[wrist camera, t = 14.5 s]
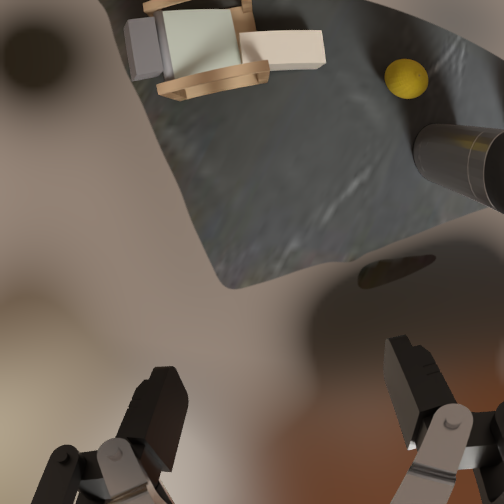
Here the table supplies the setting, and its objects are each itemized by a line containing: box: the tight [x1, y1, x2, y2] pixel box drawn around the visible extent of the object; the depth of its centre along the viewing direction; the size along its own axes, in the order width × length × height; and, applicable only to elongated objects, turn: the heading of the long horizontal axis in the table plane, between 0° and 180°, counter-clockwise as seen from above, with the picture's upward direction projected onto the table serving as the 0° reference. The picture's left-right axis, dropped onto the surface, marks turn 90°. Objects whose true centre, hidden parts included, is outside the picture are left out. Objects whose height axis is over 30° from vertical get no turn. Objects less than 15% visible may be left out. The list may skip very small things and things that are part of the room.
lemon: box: [385, 59, 428, 99], centre depth 34 cm, size 6×6×8 cm
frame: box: [143, 0, 270, 101], centre depth 32 cm, size 12×12×10 cm
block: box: [238, 30, 326, 71], centre depth 34 cm, size 4×4×10 cm
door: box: [124, 9, 242, 82], centre depth 30 cm, size 13×9×2 cm
